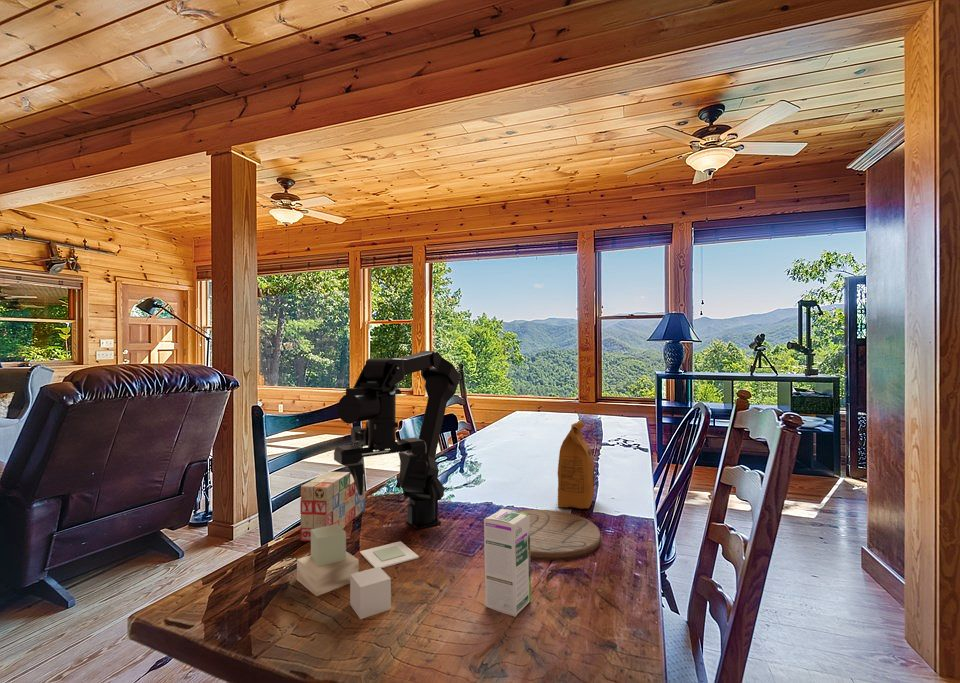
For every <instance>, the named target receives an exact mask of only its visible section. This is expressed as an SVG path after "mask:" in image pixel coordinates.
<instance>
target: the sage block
mask: <svg viewBox="0 0 960 683" xmlns="http://www.w3.org/2000/svg"><path fill="white" fill-rule="evenodd" d="M346 552H347V531H345V530H344V528H342V527H341V526H340V525H339V524H334V525H330V526H325V527H320V528H315V529H311V541H310V555H311V558H312V559H313V561H314V562H315V564H316V565H317V567H321V566H325V565H329V564H333V563H336V562H340V561H344V560H346Z"/></svg>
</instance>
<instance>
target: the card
mask: <svg viewBox="0 0 960 683" xmlns="http://www.w3.org/2000/svg"><path fill="white" fill-rule="evenodd" d="M359 553H360V555H361V556H363V558H364V559H365V560H366V561H367V562H368V563H369V564H370V566H372V568H375V567H380V568H381V569H384V568H388V567H391V566H395V565H399V564H402V563H406V562H409V561H413V560H417V559H420V558H419V557H420V556H419V555H418V554H416V553H415V551H413V550H411V549H410V548H409V547H408V546H407V545H406V544H404V542H402V541H401V540H400V541H396V542H391V543H388V544H384V545H380V546H375V547H371V548H368V549H364V550H360V551H359Z"/></svg>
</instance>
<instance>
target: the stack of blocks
mask: <svg viewBox="0 0 960 683" xmlns="http://www.w3.org/2000/svg"><path fill="white" fill-rule="evenodd" d="M365 477H366V476H365V474H363V493H362V495H361V496H360V495H359V493H358V491H357V488H356V485H355V482H354V479H353V476H352V474H351V472H350V471H325V472H323V473H322V474H320V475H319V476H316V477H315V478H313V479H311V480H309V481H307V482H306V483H304V484H302V485H301V486H300V504H299V505H300V511H299V512H300V530H299V531H300V535H299V536H300V537H299V538H300V539H299V540H300V541H302V542H311V529H315V528H320V527H325V526H330V525H334V524H339V525H340V526H341V527H342V528H343V529H344V528H346V526H347V525H348V524H349V523H350V522H352V521H353V520H354V519H355V518H356V517H358V516H359V515H360V514H362V512H363V511H365V509H366V485H365V480H366V478H365Z"/></svg>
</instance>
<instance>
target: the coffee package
mask: <svg viewBox="0 0 960 683" xmlns="http://www.w3.org/2000/svg"><path fill="white" fill-rule="evenodd" d="M585 426H586V425H585V423H584V422H583V421H582V420H578V421H577V422H575V423H573V424H571V426H570V430H569V431H568V433H567V435H566V437H565V438H564V439H563V441H562V442H561V443H562V444H560V445H561V446H560V449H559V454H558V461H557V462H558V464H557V507H559V508H562V509H563V508H568V507H570V508H571V507H572V508H575V509H582V510H583V509H589V508H590V507H591V505H592V503H593V500H594V497H595V481H596V480H595V478H596V472H595V461H594V460H595V459H594V456H593V453H592V450H591V447H590V446H589V444H588V443H587V441H586V440H585V437H584V436H583V433H582V429H583V428H585ZM572 508H571V509H572Z"/></svg>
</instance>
